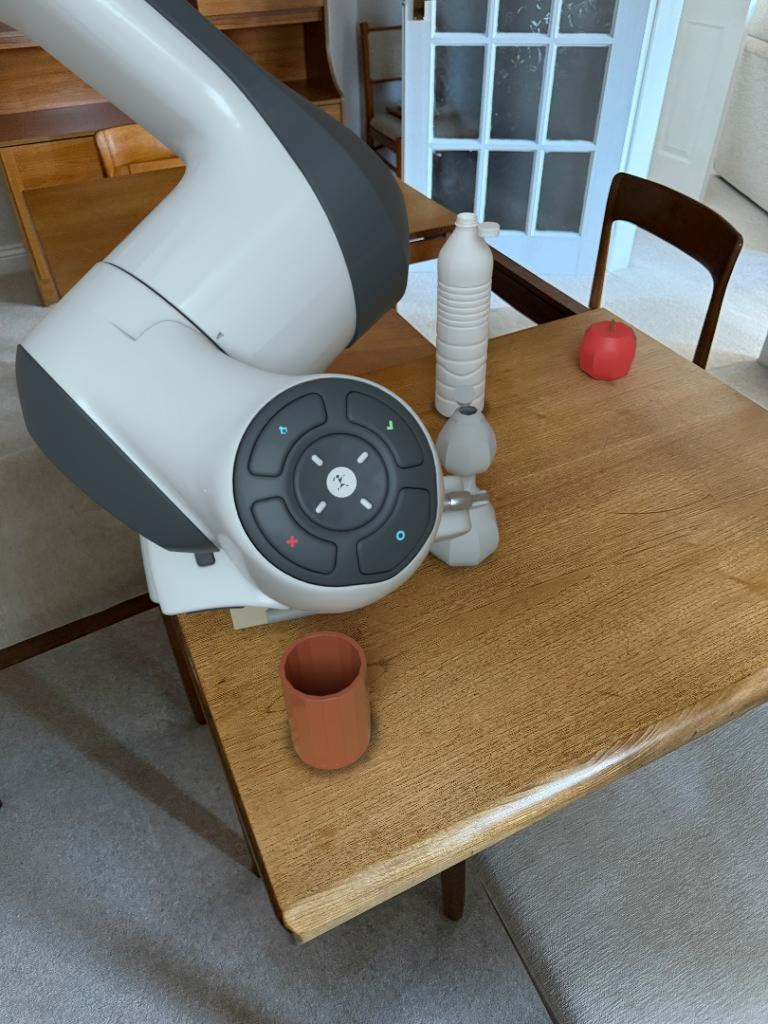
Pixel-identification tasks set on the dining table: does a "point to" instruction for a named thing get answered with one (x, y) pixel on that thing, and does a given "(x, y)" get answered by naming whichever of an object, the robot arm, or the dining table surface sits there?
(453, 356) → the water bottle
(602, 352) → the apple
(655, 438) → the dining table surface
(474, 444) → the gourd bottle
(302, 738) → the cup
